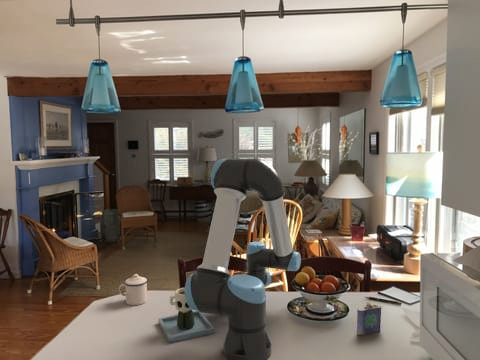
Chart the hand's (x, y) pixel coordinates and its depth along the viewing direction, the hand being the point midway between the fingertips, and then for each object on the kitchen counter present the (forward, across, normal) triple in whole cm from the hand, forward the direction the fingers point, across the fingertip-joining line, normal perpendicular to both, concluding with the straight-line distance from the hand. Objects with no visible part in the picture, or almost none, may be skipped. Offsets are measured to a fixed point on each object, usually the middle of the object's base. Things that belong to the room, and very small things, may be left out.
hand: (192, 300), depth 142 cm
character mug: (+3, 0, -9) cm, 10 cm away
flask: (-42, -45, -10) cm, 62 cm away
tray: (+4, 0, -9) cm, 10 cm away
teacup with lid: (+7, +35, -10) cm, 37 cm away
